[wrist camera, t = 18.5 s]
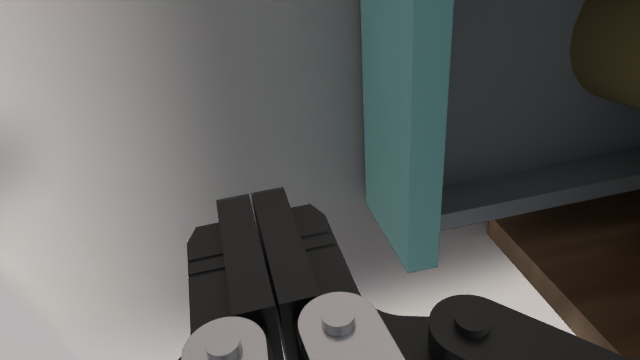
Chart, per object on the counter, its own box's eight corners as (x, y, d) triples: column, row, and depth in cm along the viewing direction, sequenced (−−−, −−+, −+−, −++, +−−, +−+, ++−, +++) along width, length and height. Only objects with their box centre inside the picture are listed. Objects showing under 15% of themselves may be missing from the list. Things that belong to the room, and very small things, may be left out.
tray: (357, -95, 17) (415, -87, 13) (779, -135, 20) (937, -139, 16) (366, 202, 24) (407, 273, 19) (688, 139, 26) (785, 189, 22)
